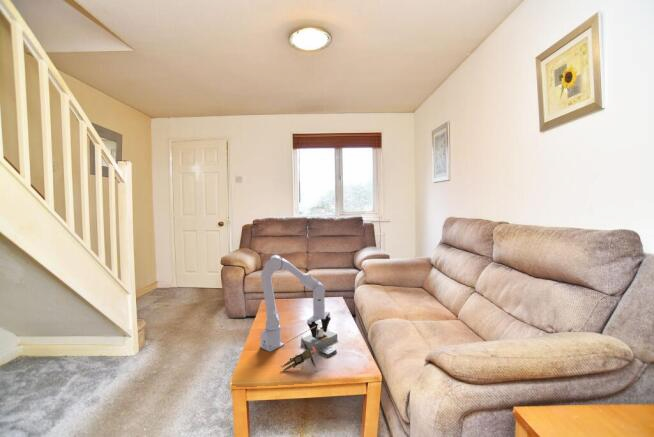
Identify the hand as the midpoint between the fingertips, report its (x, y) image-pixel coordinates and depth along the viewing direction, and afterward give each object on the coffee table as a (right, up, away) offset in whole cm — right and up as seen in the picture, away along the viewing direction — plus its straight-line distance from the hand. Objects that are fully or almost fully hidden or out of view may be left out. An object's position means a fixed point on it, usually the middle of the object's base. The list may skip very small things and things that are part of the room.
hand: (319, 334), depth 150 cm
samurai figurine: (-9, -5, -23) cm, 25 cm away
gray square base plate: (+4, -4, -11) cm, 13 cm away
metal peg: (0, -4, 0) cm, 4 cm away
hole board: (0, -4, 0) cm, 4 cm away
